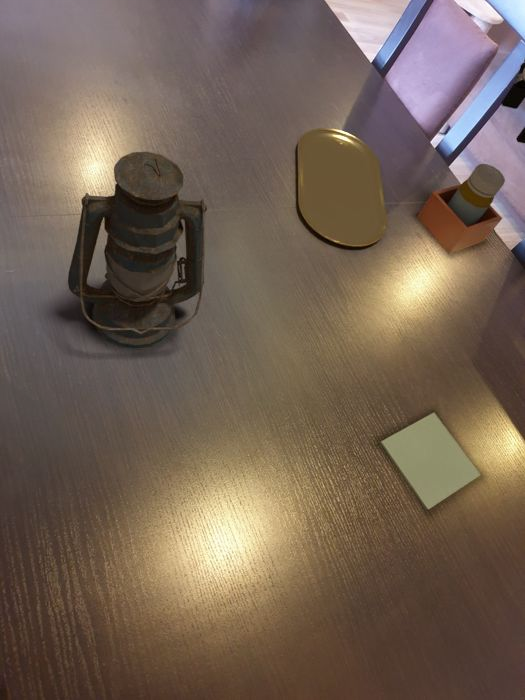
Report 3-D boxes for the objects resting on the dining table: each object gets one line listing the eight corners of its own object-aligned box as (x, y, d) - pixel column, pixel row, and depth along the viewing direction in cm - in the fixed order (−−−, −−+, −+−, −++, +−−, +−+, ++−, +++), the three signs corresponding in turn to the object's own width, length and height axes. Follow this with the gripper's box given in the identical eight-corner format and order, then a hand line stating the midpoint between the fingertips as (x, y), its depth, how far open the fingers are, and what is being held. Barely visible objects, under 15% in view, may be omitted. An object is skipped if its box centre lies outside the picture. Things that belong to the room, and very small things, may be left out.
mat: (432, 413, 94) (434, 412, 93) (478, 476, 89) (481, 474, 89) (379, 442, 88) (381, 441, 88) (426, 511, 84) (428, 509, 84)
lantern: (190, 283, 96) (224, 136, 71) (201, 356, 88) (242, 221, 64) (69, 282, 90) (60, 121, 65) (70, 360, 83) (60, 213, 58)
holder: (451, 205, 125) (468, 181, 119) (483, 241, 121) (502, 218, 115) (416, 216, 120) (432, 192, 114) (448, 254, 116) (467, 230, 110)
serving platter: (296, 240, 107) (299, 234, 106) (295, 125, 126) (297, 119, 125) (388, 258, 111) (391, 253, 110) (373, 144, 130) (376, 138, 129)
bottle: (469, 230, 122) (511, 176, 110) (458, 246, 118) (500, 193, 106) (442, 212, 123) (480, 157, 111) (430, 228, 119) (468, 172, 107)
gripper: (629, 65, 80) (549, 161, 94) (588, 1, 89) (520, 97, 103) (585, 53, 78) (510, 153, 92) (547, -10, 87) (484, 89, 101)
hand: (516, 123), depth 98 cm, fingers open, 9 cm apart
